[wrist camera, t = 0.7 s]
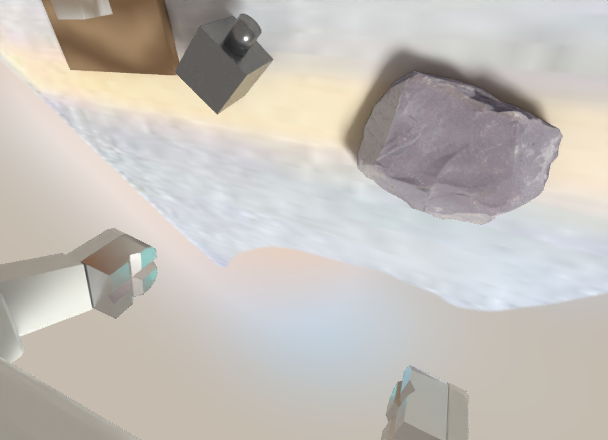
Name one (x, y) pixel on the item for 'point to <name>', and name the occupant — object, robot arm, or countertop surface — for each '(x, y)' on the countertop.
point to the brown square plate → (114, 35)
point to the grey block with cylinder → (224, 61)
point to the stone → (456, 149)
